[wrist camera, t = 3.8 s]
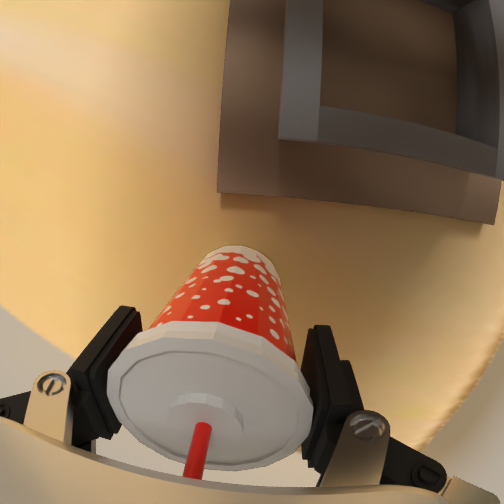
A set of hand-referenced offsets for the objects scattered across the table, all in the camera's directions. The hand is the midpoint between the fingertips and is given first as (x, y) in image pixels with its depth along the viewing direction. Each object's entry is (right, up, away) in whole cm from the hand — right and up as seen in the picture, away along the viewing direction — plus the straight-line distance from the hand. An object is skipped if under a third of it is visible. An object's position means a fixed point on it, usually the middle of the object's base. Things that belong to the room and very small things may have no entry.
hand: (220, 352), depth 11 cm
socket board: (+8, +13, +1) cm, 15 cm away
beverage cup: (0, +2, +5) cm, 6 cm away
